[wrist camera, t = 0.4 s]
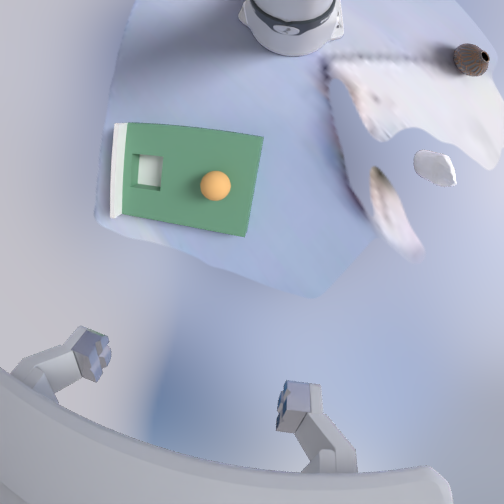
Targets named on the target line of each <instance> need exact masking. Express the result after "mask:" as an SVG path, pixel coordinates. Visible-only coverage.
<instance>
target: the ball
mask: <svg viewBox="0 0 504 504" xmlns="http://www.w3.org/2000/svg"><path fill="white" fill-rule="evenodd" d="M200 188H201V192H202V194H203V195H204V196H205V197H206V198H207V199H209V200H212V201H219V200H222V199H223V198H225V197H226V196H227V195H228V193H229V192H230V188H231V183H230V180H229V178H228V176H227V175H226V174H224V173H223V172H220V171H211V172H209V173H207V174H206V175H205V176H204V177H203V178H202V180H201V184H200Z"/></svg>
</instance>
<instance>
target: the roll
mask: <svg viewBox="0 0 504 504" xmlns="http://www.w3.org/2000/svg"><path fill="white" fill-rule="evenodd" d="M414 168H415V171H416V173H417V174H418V175H419V176H420V177H422V178H424V179H426V180H428V181H430V182H432V183H433V184H436V185H438V186H443V187H447V186H448V187H451V186H454V185H456V184H457V182H456V176H455V169H454V167H453V165H452V163H451V160H450V158H449V157H448V156H447V155H444V154H441V153H436V152H432V151H428V150H420V151H418V152H417V153H416V154H415V156H414Z"/></svg>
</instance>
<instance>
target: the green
mask: <svg viewBox="0 0 504 504" xmlns="http://www.w3.org/2000/svg"><path fill="white" fill-rule="evenodd" d="M263 138H264V137H261V136H255V135H249V134H243V133H236V132H229V131H222V130H214V129H206V128H198V127H188V126H178V125H165V124H151V123H115V125H114V135H113V147H112V161H111V184H110V218H116V217H118V216H119V215H121V214H125V215H131V216H136V217H142V218H147V219H152V220H158V221H163V222H168V223H174V224H179V225H184V226H189V227H195V228H200V229H205V230H210V231H215V232H220V233H225V234H231V235H236V236H241V237H245V235H246V232H247V228H248V222H249V216H250V211H251V205H252V199H253V194H254V188H255V183H256V177H257V172H258V166H259V160H260V155H261V149H262V144H263ZM211 171H220V172H223V173H224V174H226V175H227V176H228V178H229V180H230V183H231V188H230V192H229V193H228V195H227V196H226V197H225V198H223V199H222V200H219V201H212V200H209V199H207V198H206V197H205V196H204V195H203V194H202V192H201V188H200V184H201V180H202V178H203V177H204V176H205V175H206V174H207V173H209V172H211Z"/></svg>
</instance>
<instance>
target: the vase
mask: <svg viewBox="0 0 504 504" xmlns="http://www.w3.org/2000/svg"><path fill="white" fill-rule="evenodd" d="M489 60H490V58H489V55H488V54H487V53H486V52H485V51H483V50H482V49H480V48H479V47H478V46H476V45H473V44H462V45H460V46H458V47H457V48H456V50H455V52H454V62H455V64H456V66H457V67H458V69H459V70H460V71H461V72H463V73H464V74H466V75H469V76H480V75H482V74H484V73H485V72H486V70H487V68H488V63H489Z"/></svg>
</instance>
